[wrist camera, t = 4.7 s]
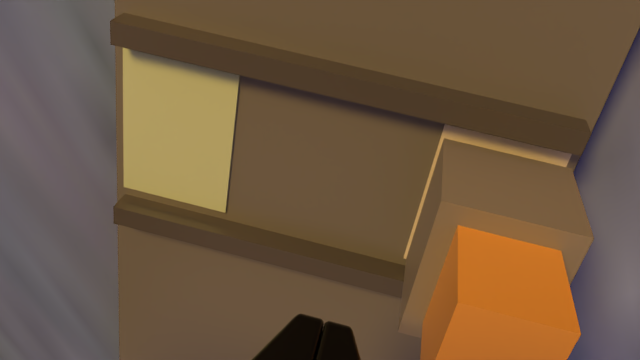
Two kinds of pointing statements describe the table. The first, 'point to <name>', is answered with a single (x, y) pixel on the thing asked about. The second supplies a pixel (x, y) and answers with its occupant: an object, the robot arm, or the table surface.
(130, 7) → the panel
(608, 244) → the table surface
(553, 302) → the toggle
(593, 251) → the table surface
